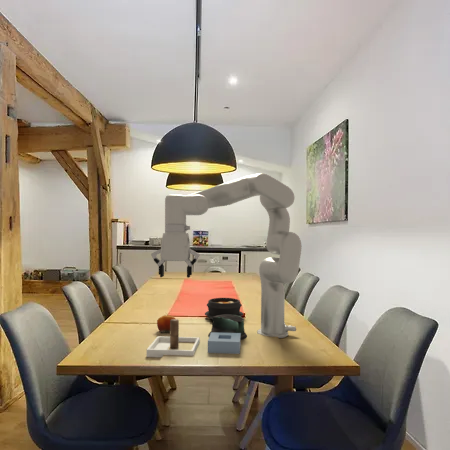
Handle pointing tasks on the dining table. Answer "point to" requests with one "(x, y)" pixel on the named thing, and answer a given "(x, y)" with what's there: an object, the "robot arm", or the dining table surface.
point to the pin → (174, 333)
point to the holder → (224, 343)
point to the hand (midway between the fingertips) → (175, 277)
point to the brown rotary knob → (228, 325)
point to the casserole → (223, 307)
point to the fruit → (164, 323)
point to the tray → (163, 343)
